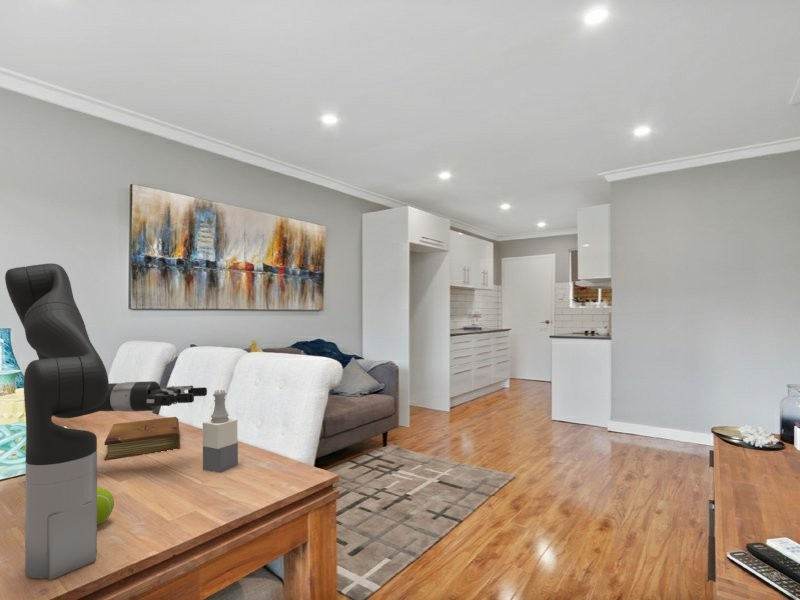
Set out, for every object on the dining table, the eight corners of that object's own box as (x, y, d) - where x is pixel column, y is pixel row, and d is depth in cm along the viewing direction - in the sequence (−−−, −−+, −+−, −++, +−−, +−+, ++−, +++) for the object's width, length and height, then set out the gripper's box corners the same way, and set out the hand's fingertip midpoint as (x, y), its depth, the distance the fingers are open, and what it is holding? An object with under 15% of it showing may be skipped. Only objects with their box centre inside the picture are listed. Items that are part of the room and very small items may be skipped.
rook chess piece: (222, 423, 111) (222, 392, 111) (206, 423, 111) (206, 392, 112) (232, 419, 115) (232, 389, 115) (217, 418, 116) (217, 389, 116)
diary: (179, 451, 129) (179, 432, 129) (104, 462, 120) (104, 442, 120) (178, 432, 149) (178, 415, 149) (113, 441, 140) (113, 423, 140)
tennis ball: (117, 525, 82) (117, 488, 83) (72, 539, 77) (72, 500, 78) (109, 513, 87) (109, 478, 88) (66, 526, 82) (66, 489, 83)
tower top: (237, 442, 114) (237, 419, 114) (217, 449, 109) (217, 425, 109) (222, 439, 117) (222, 417, 117) (202, 445, 112) (202, 422, 112)
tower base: (237, 464, 115) (237, 442, 115) (220, 472, 109) (220, 448, 109) (220, 462, 117) (220, 440, 117) (202, 470, 111) (202, 446, 111)
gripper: (120, 386, 105) (188, 384, 106) (150, 377, 119) (210, 376, 120) (120, 417, 105) (188, 415, 106) (150, 405, 119) (210, 403, 120)
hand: (200, 394), depth 113 cm, fingers open, 8 cm apart
